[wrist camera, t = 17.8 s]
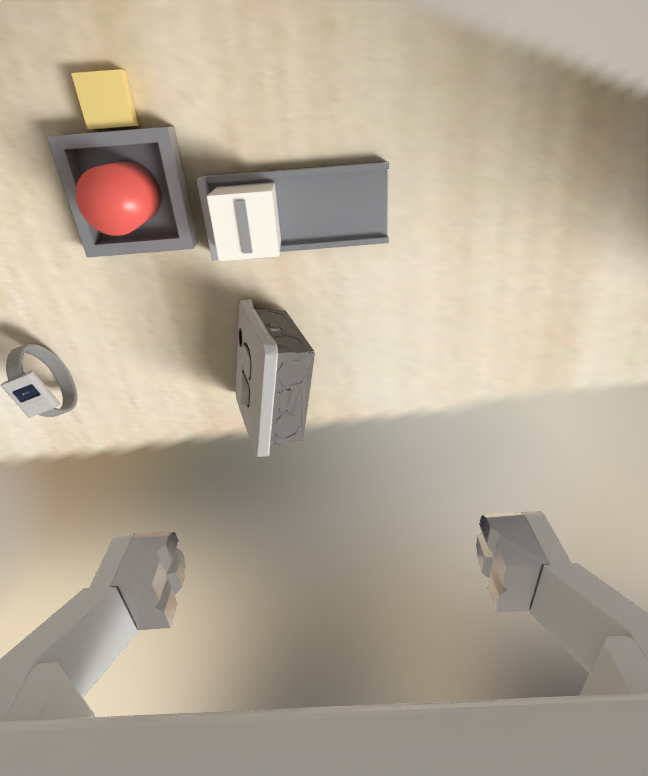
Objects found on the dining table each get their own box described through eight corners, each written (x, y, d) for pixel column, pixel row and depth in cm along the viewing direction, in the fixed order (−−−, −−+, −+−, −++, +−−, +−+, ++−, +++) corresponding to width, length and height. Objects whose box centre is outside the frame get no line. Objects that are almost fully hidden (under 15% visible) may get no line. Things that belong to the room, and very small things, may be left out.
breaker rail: (386, 161, 32) (391, 163, 30) (386, 239, 35) (390, 246, 33) (201, 175, 32) (196, 179, 30) (216, 253, 35) (211, 260, 33)
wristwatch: (94, 389, 40) (70, 422, 36) (67, 399, 41) (40, 433, 36) (48, 329, 37) (15, 356, 33) (19, 341, 38) (-17, 369, 33)
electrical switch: (239, 294, 37) (237, 345, 29) (303, 299, 38) (318, 350, 30) (235, 394, 41) (233, 461, 33) (292, 396, 42) (303, 461, 34)
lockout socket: (162, 67, 29) (154, 65, 27) (197, 242, 34) (193, 248, 33) (41, 77, 29) (26, 74, 27) (96, 251, 34) (86, 257, 33)
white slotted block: (274, 182, 32) (271, 191, 28) (281, 240, 34) (279, 256, 30) (217, 186, 32) (206, 196, 28) (227, 244, 34) (218, 261, 30)
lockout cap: (163, 167, 31) (144, 174, 28) (160, 227, 33) (142, 241, 29) (101, 154, 31) (73, 159, 27) (103, 215, 33) (77, 228, 29)
